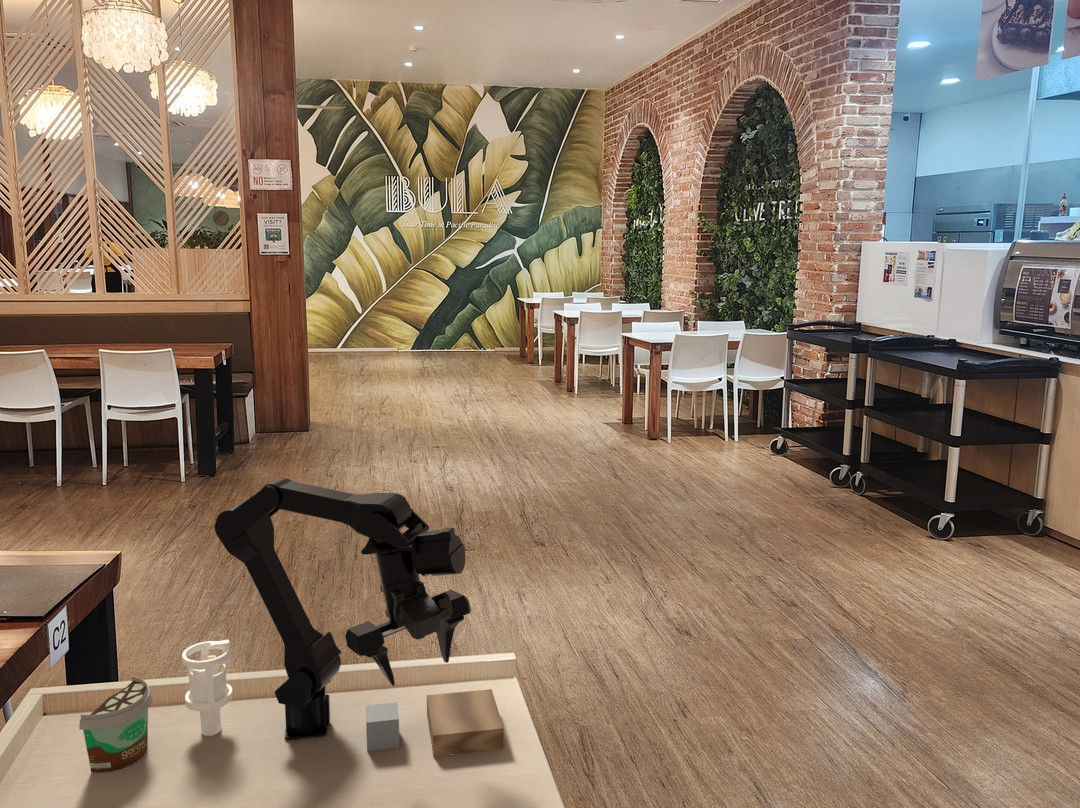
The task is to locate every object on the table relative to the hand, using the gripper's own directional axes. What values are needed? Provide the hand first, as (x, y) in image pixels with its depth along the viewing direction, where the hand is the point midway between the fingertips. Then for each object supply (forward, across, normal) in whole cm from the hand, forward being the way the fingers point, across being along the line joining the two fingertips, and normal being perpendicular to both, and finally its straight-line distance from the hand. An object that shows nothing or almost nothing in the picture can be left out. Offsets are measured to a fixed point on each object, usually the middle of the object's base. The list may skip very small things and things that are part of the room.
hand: (419, 673), depth 131 cm
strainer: (+6, -28, +24) cm, 37 cm away
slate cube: (+11, -6, +7) cm, 14 cm away
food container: (+5, -40, +23) cm, 46 cm away
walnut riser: (+14, +6, +2) cm, 15 cm away
